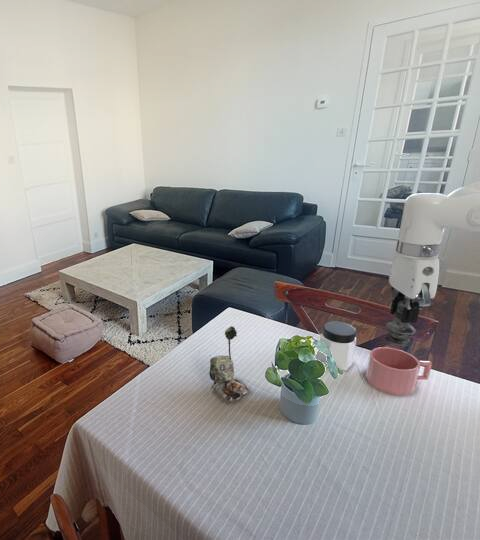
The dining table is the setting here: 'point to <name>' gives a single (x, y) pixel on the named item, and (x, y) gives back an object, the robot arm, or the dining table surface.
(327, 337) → the jar
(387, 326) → the grey stone figurine
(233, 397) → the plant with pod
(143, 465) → the dining table surface
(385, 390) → the pink coffee mug
